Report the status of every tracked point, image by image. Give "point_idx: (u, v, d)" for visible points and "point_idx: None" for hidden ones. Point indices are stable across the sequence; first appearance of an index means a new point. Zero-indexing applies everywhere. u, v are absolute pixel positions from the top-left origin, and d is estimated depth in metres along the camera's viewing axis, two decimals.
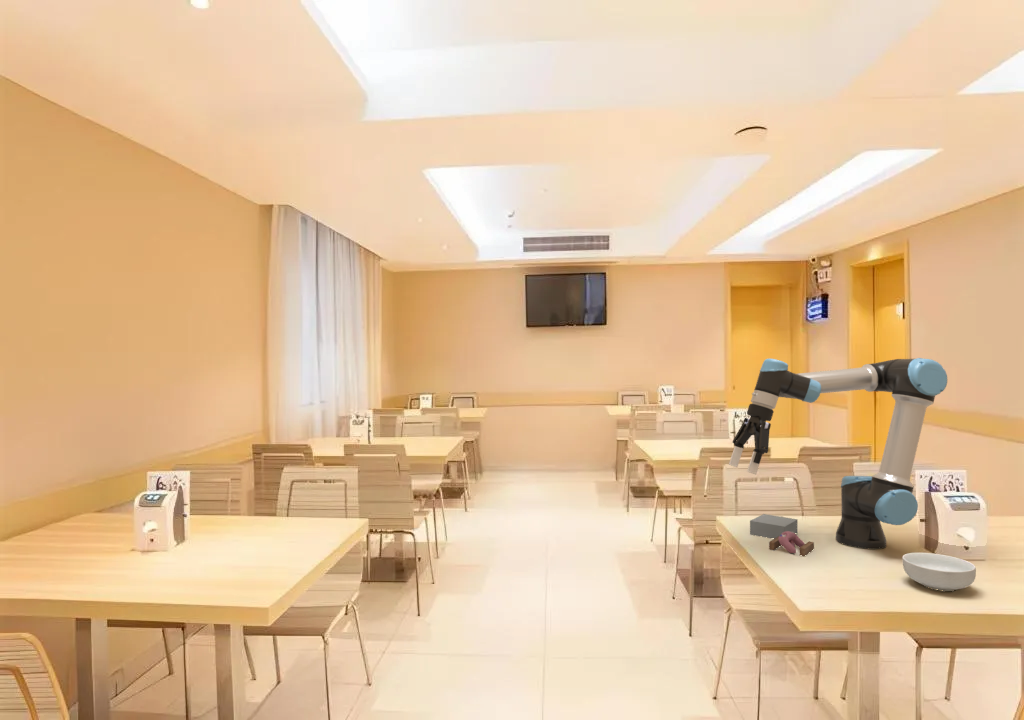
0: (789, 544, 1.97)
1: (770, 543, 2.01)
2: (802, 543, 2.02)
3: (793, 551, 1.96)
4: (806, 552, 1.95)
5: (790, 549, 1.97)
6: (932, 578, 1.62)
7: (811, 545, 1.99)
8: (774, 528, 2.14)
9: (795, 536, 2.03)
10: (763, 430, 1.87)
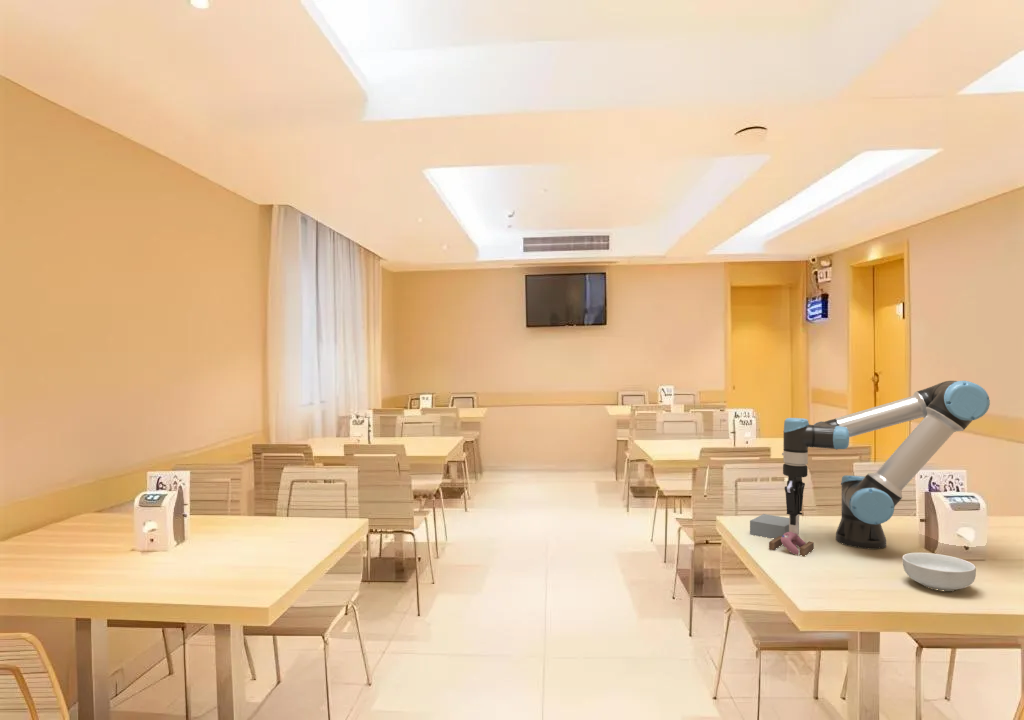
0: (792, 545, 1.96)
1: (770, 543, 2.01)
2: (804, 543, 2.01)
3: (796, 552, 1.95)
4: (806, 552, 1.95)
5: (793, 550, 1.95)
6: (932, 578, 1.62)
7: (811, 545, 1.99)
8: (774, 528, 2.14)
9: (797, 536, 2.02)
10: (787, 495, 2.02)
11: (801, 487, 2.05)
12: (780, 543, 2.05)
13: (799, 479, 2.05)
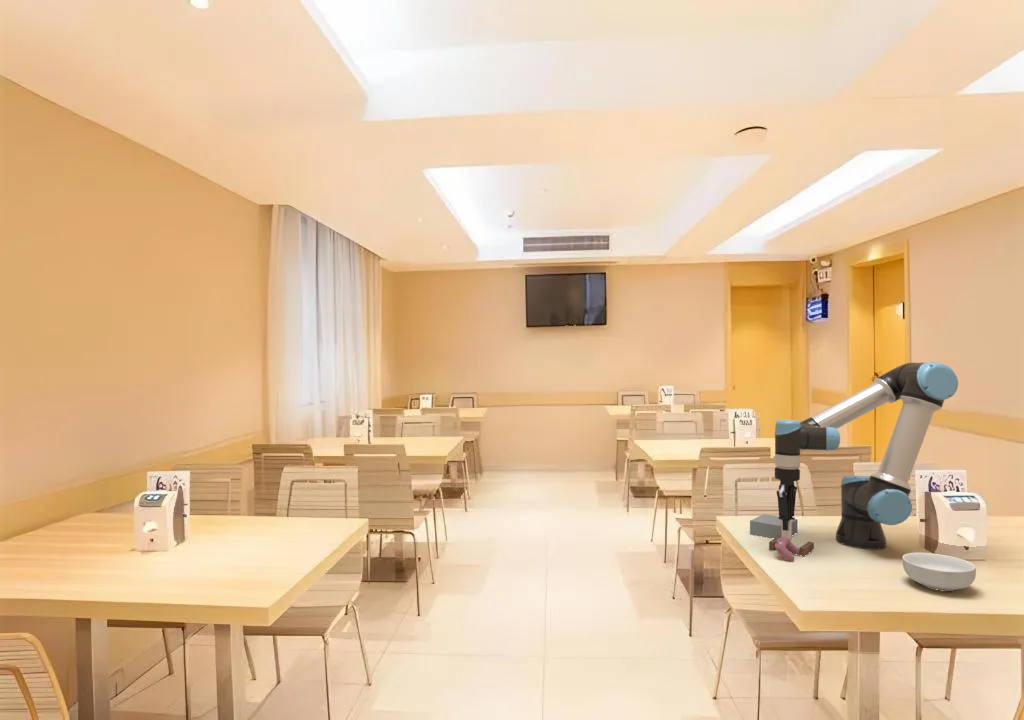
0: (787, 551, 1.89)
1: (770, 543, 2.01)
2: (796, 549, 1.95)
3: (791, 559, 1.88)
4: (806, 552, 1.95)
5: (789, 556, 1.89)
6: (932, 578, 1.62)
7: (811, 545, 1.99)
8: (774, 528, 2.14)
9: (789, 542, 1.96)
10: (779, 499, 1.95)
11: (793, 491, 1.98)
12: None
13: (791, 483, 1.99)
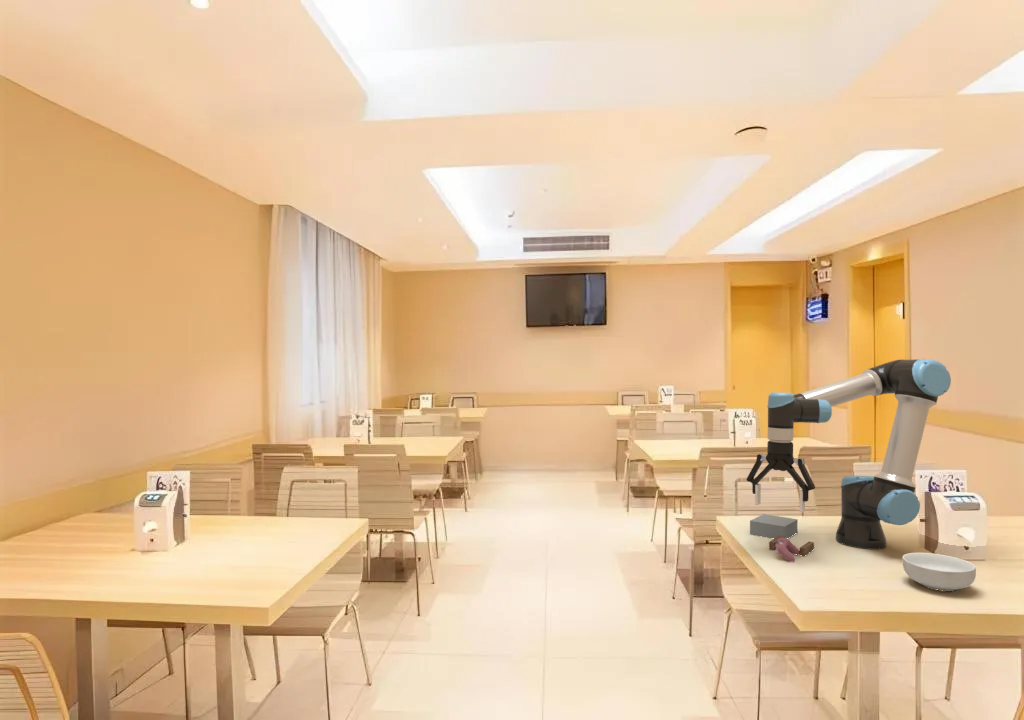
0: (788, 552, 1.89)
1: (770, 543, 2.01)
2: (796, 549, 1.95)
3: (792, 559, 1.88)
4: (806, 552, 1.95)
5: (789, 557, 1.88)
6: (932, 578, 1.62)
7: (811, 545, 1.99)
8: (774, 528, 2.14)
9: (789, 542, 1.96)
10: None
11: (785, 465, 1.91)
12: None
13: None
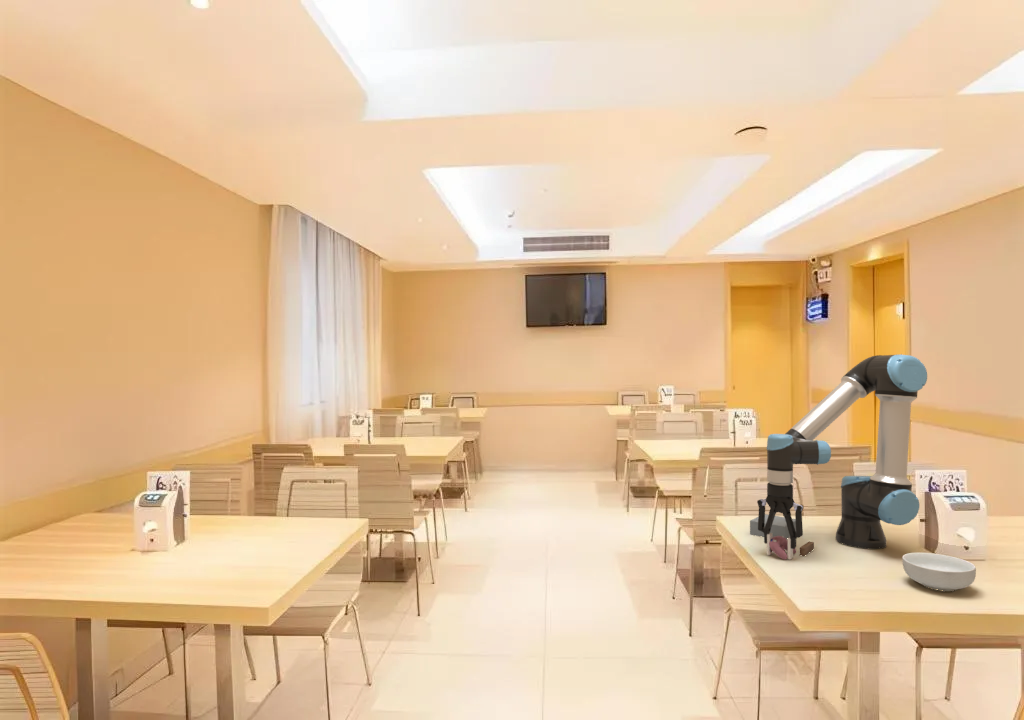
0: (780, 549, 1.91)
1: None
2: None
3: (784, 556, 1.90)
4: (806, 552, 1.95)
5: (781, 554, 1.90)
6: (932, 578, 1.62)
7: (811, 545, 1.99)
8: (774, 528, 2.14)
9: (785, 541, 1.97)
10: None
11: (783, 509, 1.91)
12: None
13: (782, 502, 1.92)
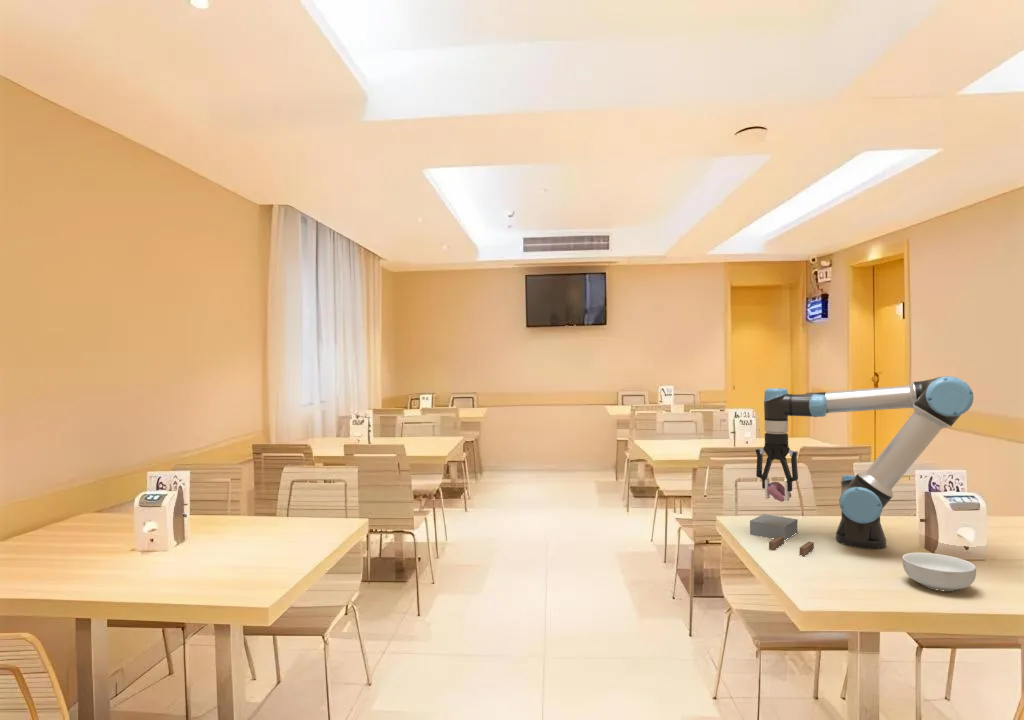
0: (778, 492, 2.09)
1: (770, 543, 2.01)
2: None
3: (782, 499, 2.08)
4: (806, 552, 1.95)
5: (779, 497, 2.08)
6: (932, 578, 1.62)
7: (811, 545, 1.99)
8: (774, 528, 2.14)
9: (781, 486, 2.15)
10: None
11: (780, 455, 2.09)
12: (780, 543, 2.05)
13: (778, 449, 2.10)
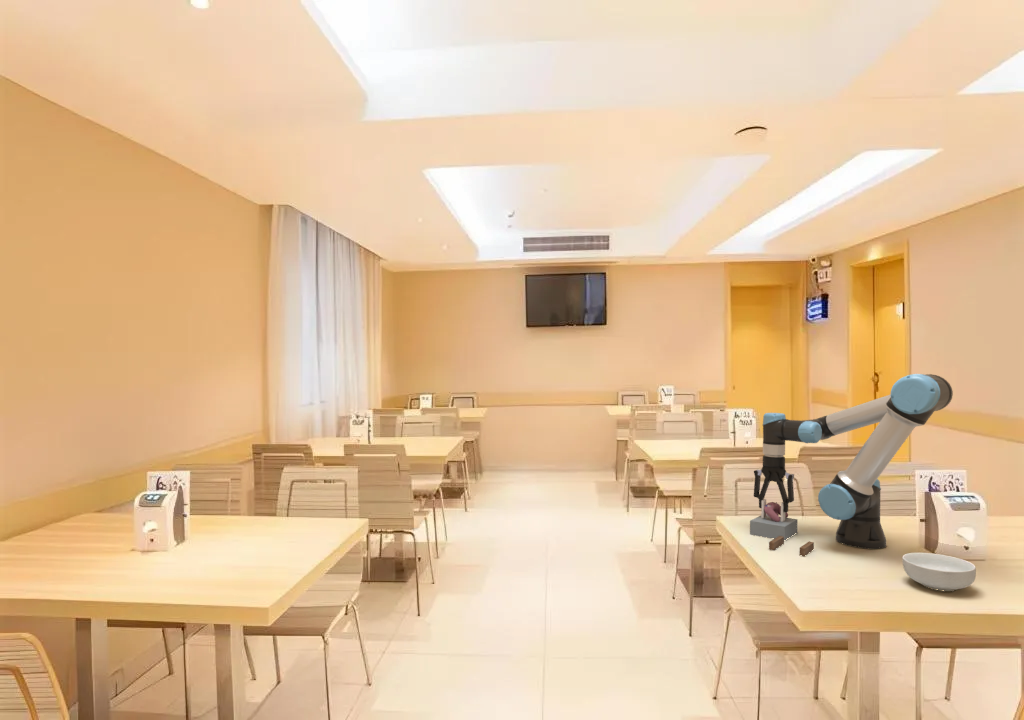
0: (774, 513, 2.18)
1: (770, 543, 2.01)
2: (785, 512, 2.24)
3: (777, 519, 2.17)
4: (806, 552, 1.95)
5: (775, 517, 2.18)
6: (932, 578, 1.62)
7: (811, 545, 1.99)
8: (774, 528, 2.14)
9: (778, 506, 2.24)
10: None
11: (777, 478, 2.18)
12: (780, 543, 2.05)
13: (775, 472, 2.19)
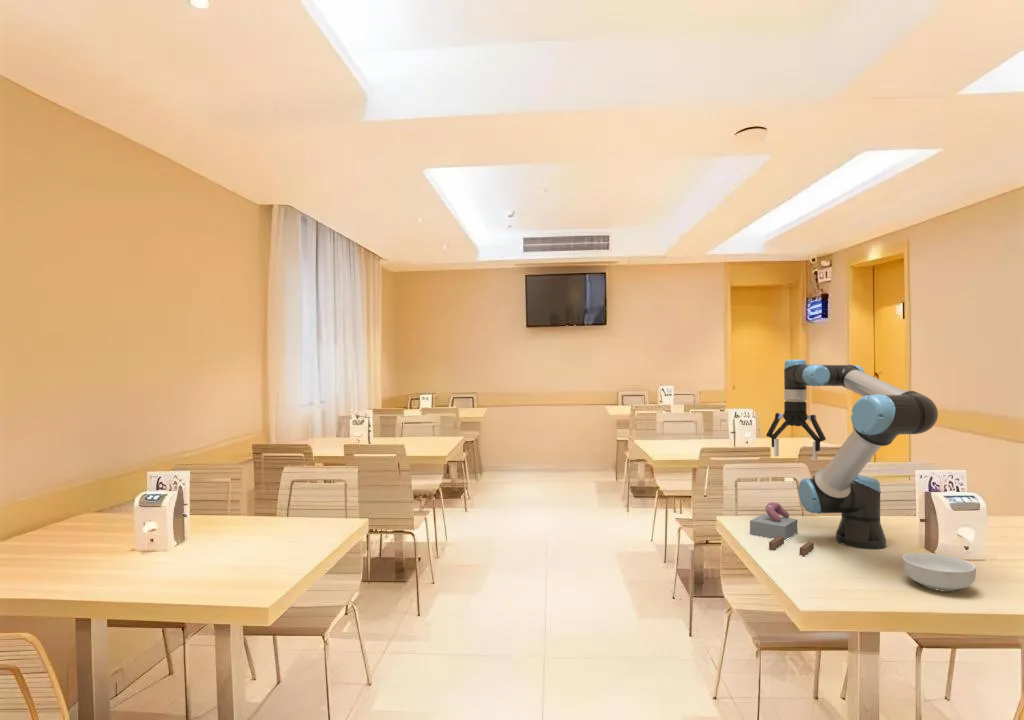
0: (775, 513, 2.18)
1: (770, 543, 2.01)
2: (786, 513, 2.23)
3: (778, 519, 2.17)
4: (806, 552, 1.95)
5: (776, 517, 2.18)
6: (932, 578, 1.62)
7: (811, 545, 1.99)
8: (774, 528, 2.14)
9: (779, 506, 2.24)
10: None
11: (800, 421, 2.24)
12: (780, 543, 2.05)
13: None
